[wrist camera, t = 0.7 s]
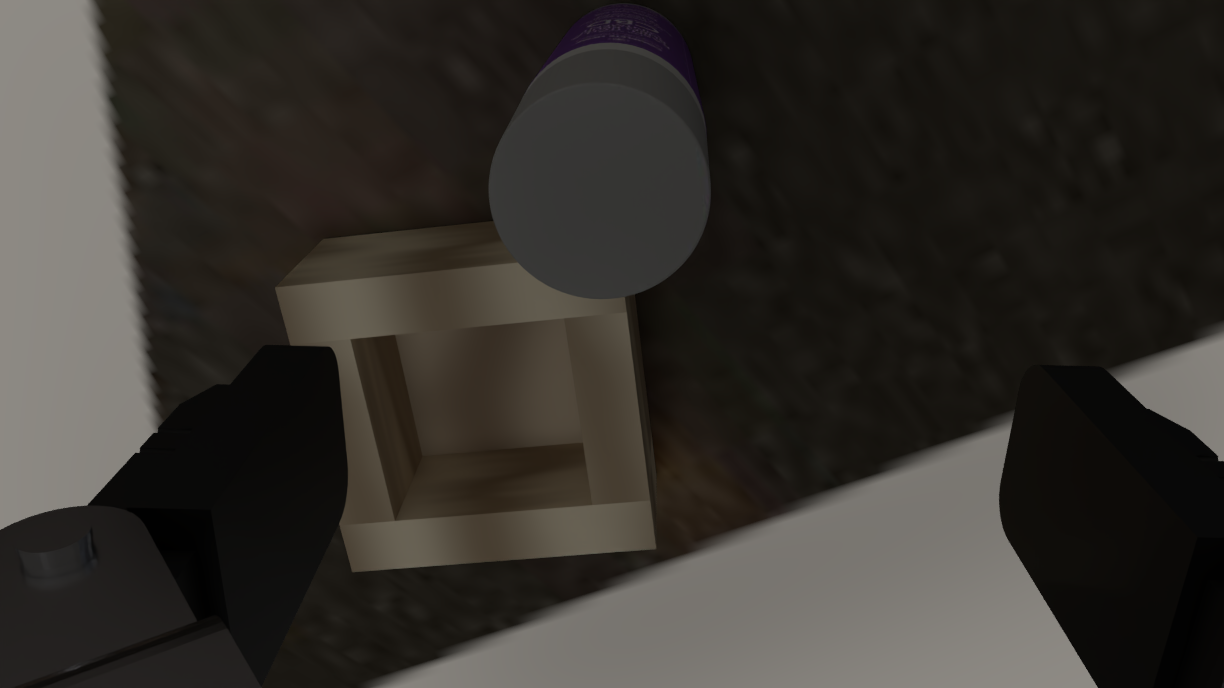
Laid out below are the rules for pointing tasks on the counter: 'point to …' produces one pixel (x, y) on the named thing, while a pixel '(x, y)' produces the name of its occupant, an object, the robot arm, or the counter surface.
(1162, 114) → the counter surface
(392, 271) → the socket block
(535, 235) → the container
